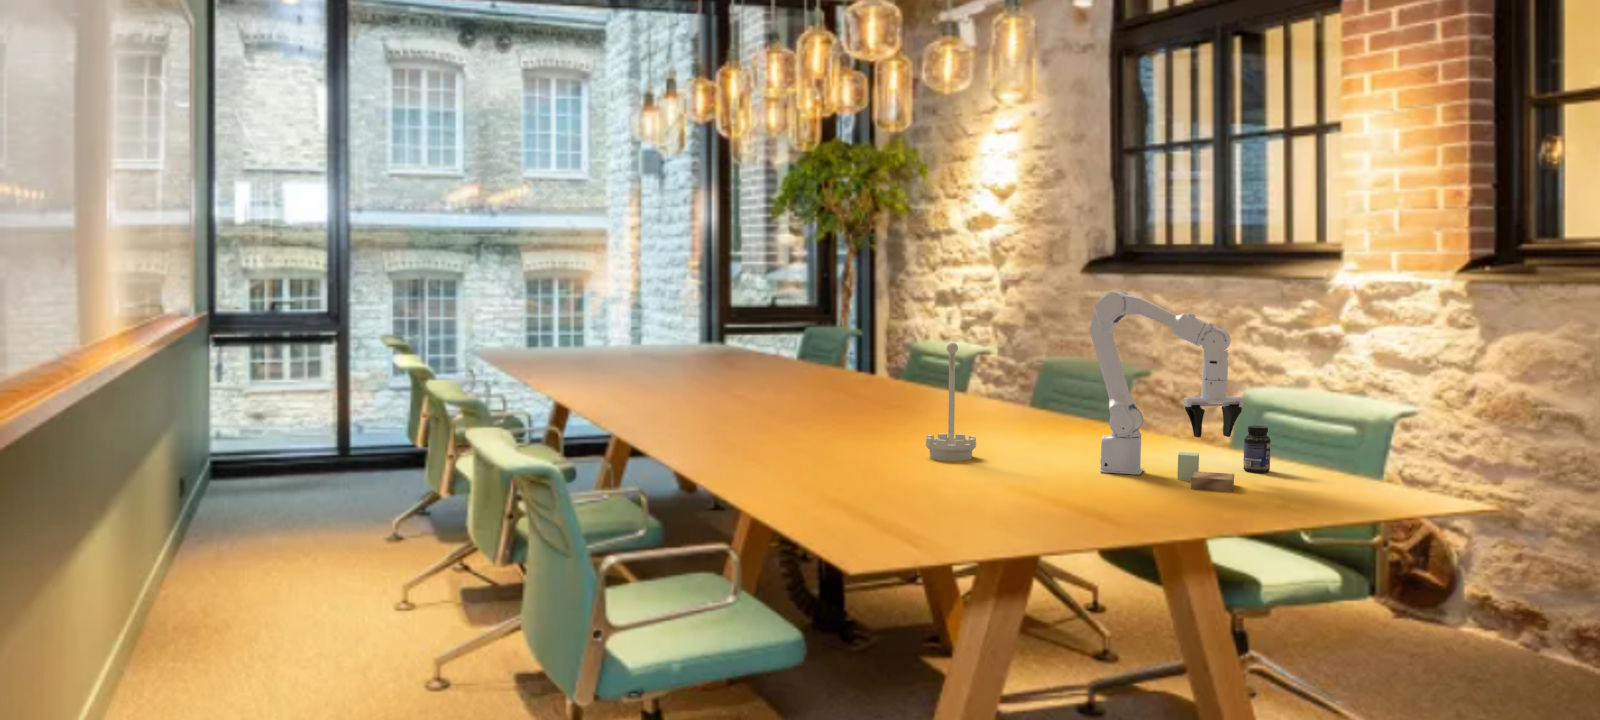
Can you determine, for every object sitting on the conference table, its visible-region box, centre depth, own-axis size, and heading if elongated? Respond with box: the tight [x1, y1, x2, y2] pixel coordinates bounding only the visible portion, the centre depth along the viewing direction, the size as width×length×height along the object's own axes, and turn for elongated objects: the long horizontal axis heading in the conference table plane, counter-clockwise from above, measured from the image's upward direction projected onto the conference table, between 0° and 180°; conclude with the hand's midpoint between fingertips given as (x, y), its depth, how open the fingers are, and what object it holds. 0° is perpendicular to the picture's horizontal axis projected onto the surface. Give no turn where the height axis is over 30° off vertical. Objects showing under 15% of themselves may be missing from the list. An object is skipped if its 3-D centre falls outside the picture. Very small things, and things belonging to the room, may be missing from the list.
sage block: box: [1176, 451, 1200, 482], centre depth 308 cm, size 4×4×6 cm
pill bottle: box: [1243, 424, 1271, 474], centre depth 319 cm, size 6×6×11 cm
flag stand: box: [925, 342, 977, 462], centre depth 337 cm, size 13×13×30 cm
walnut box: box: [1190, 471, 1235, 493], centre depth 298 cm, size 9×9×3 cm
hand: (1212, 436), depth 307 cm, fingers open, 7 cm apart
